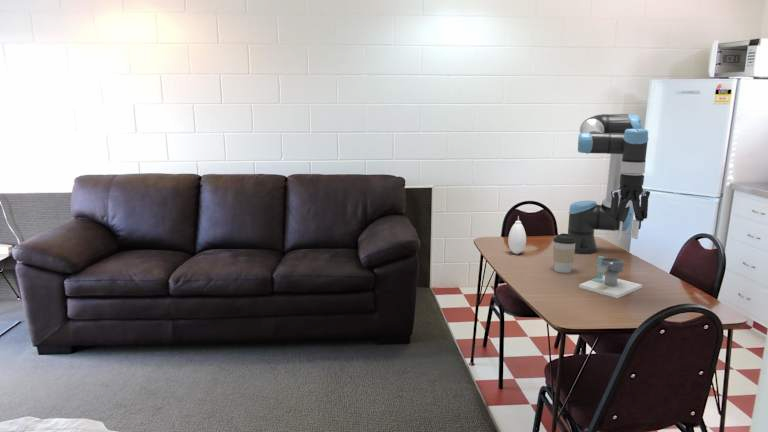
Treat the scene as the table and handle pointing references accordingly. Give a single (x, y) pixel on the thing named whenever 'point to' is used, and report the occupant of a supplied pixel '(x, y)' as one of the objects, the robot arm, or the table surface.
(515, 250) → the sauce bottle
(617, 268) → the knob
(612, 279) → the lock base
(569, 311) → the table surface
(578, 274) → the table surface
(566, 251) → the coffee cup
